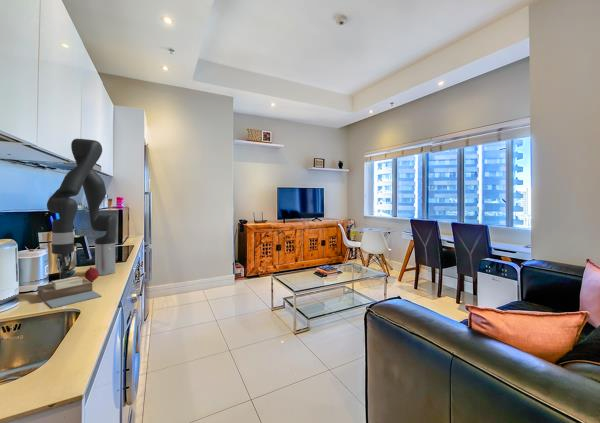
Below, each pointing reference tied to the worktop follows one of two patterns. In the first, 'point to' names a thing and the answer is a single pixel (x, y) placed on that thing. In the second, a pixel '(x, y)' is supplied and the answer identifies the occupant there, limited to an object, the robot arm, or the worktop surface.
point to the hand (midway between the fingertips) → (63, 280)
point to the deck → (63, 290)
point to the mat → (72, 299)
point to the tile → (66, 282)
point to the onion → (91, 274)
